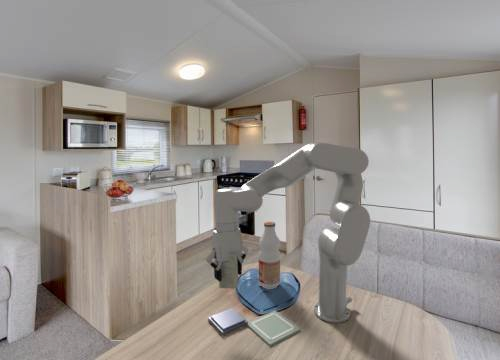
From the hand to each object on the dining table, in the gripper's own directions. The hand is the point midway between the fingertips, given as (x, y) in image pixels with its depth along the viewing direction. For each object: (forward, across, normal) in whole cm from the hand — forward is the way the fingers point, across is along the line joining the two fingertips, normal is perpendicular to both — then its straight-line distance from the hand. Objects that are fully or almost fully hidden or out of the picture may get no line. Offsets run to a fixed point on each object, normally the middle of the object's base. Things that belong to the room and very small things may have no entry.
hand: (228, 276), depth 96 cm
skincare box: (+4, 0, 0) cm, 4 cm away
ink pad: (+17, +1, 0) cm, 17 cm away
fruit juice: (+17, -28, -13) cm, 36 cm away
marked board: (+17, -10, +11) cm, 23 cm away
